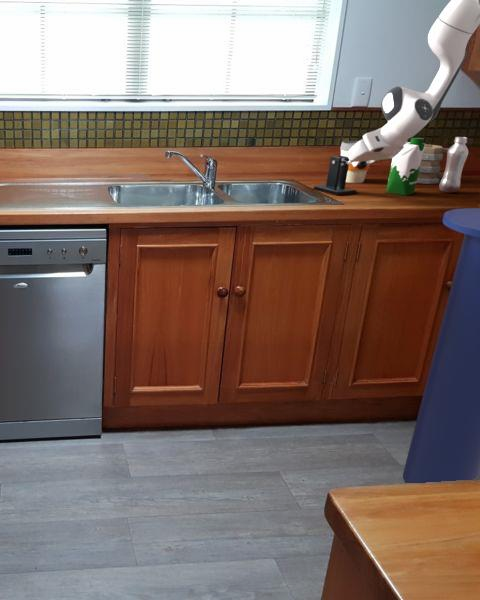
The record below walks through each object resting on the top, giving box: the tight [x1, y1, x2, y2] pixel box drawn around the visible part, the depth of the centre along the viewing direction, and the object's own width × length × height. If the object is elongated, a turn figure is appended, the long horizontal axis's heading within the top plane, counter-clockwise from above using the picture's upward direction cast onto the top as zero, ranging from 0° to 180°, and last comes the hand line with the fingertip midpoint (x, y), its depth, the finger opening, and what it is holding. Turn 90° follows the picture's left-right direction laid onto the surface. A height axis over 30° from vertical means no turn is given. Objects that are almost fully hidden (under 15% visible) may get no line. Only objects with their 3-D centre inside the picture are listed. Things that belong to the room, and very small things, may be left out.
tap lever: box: [341, 158, 367, 169], centre depth 218 cm, size 13×4×4 cm, turn 23°
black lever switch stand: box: [313, 155, 358, 197], centre depth 224 cm, size 12×9×13 cm
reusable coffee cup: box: [339, 140, 371, 184], centre depth 243 cm, size 13×13×15 cm
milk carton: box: [386, 137, 426, 197], centre depth 221 cm, size 9×9×20 cm
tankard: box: [416, 143, 451, 185], centre depth 242 cm, size 20×13×15 cm, turn 67°
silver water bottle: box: [438, 136, 469, 194], centre depth 223 cm, size 6×7×20 cm
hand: (359, 164), depth 215 cm, fingers closed on tap lever, 3 cm apart
